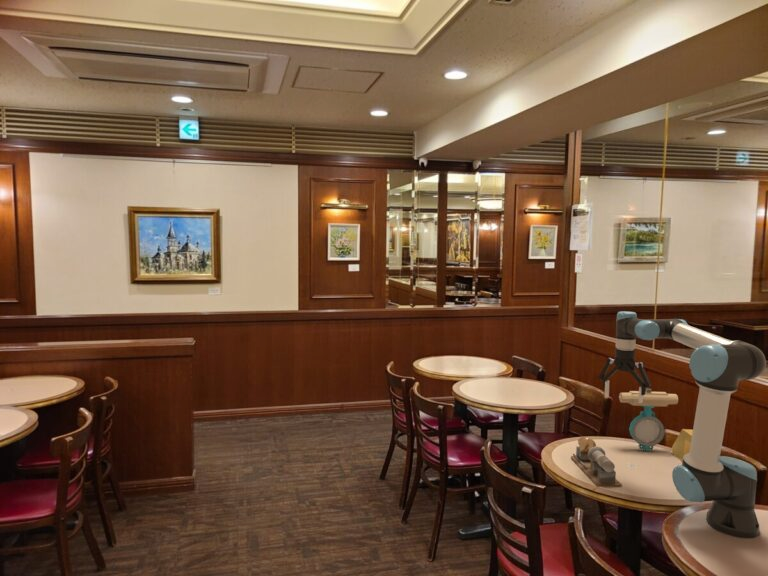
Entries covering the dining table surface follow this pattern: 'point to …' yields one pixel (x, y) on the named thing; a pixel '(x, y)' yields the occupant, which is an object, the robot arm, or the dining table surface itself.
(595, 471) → the pipe jig
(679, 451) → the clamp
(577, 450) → the coupling
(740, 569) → the dining table surface
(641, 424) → the butterfly valve
